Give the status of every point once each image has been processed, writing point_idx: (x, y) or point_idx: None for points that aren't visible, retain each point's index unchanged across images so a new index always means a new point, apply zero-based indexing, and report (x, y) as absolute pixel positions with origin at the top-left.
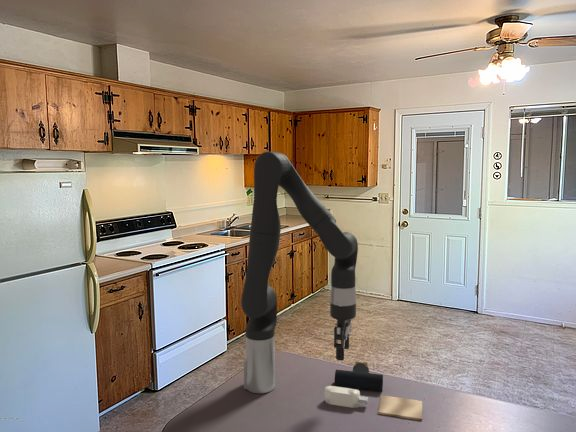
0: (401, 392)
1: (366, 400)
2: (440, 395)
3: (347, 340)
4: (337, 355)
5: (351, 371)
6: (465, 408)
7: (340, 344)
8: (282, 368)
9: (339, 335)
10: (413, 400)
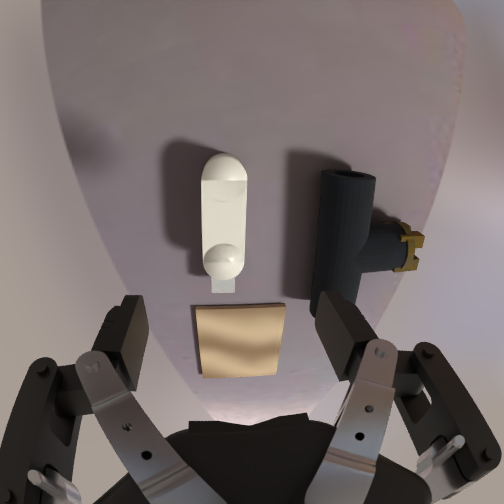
0: (315, 335)
1: (213, 290)
2: (310, 387)
3: (333, 358)
4: (105, 323)
5: (359, 235)
6: (270, 413)
7: (55, 412)
8: (391, 8)
9: (46, 465)
10: (274, 362)
